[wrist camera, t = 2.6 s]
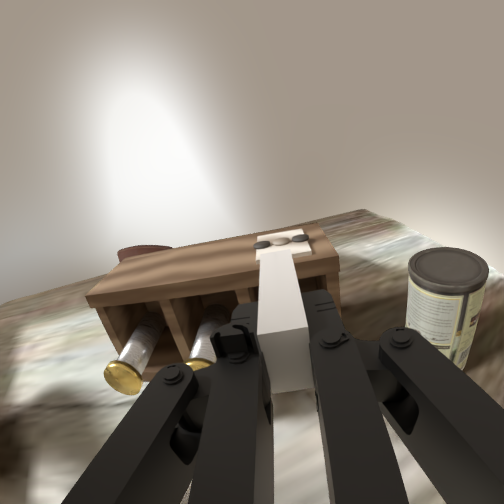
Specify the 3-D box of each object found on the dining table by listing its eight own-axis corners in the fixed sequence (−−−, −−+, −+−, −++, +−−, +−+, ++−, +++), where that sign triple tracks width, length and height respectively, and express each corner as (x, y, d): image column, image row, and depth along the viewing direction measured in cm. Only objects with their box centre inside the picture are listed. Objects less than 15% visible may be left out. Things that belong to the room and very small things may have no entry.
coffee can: (411, 328, 38) (417, 243, 33) (470, 339, 31) (487, 250, 26) (389, 373, 31) (398, 279, 26) (460, 390, 24) (490, 291, 19)
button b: (227, 394, 28) (215, 363, 26) (186, 396, 28) (170, 366, 27) (237, 325, 40) (229, 297, 38) (205, 329, 41) (196, 302, 39)
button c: (146, 395, 29) (129, 367, 27) (114, 394, 29) (97, 366, 28) (173, 332, 41) (163, 306, 40) (146, 335, 42) (135, 309, 40)
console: (343, 361, 36) (338, 248, 30) (129, 381, 39) (82, 290, 34) (326, 309, 49) (316, 217, 43) (154, 332, 52) (123, 253, 47)
